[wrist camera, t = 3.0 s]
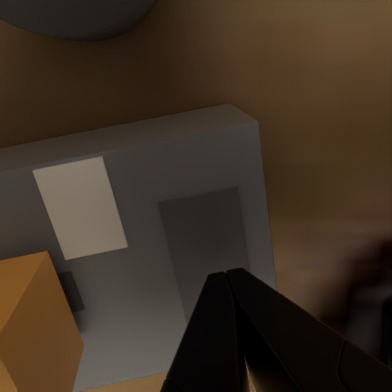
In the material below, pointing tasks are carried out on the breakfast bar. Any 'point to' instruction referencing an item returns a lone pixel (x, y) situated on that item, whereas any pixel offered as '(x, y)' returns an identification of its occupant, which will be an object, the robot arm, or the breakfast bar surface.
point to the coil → (75, 17)
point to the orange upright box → (36, 328)
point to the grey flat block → (139, 227)
